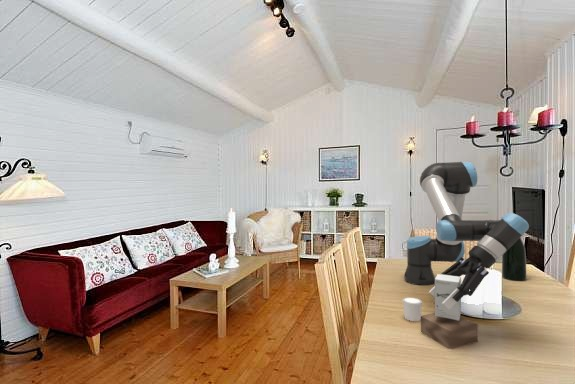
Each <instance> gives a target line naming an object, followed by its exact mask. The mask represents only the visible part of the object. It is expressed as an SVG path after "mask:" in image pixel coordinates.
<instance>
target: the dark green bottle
mask: <svg viewBox="0 0 575 384" xmlns="http://www.w3.org/2000/svg"><path fill="white" fill-rule="evenodd" d="M521 237H522V236H521ZM521 237H520V238H519V239H518V240H517V241H516V242H515V243H514V244H513V245H512V246H511V247H510V248H509V249H508V250H507V251H506V252H505V253H504V254H503V255H502V256H501V275H502V277H503V278H504V279H505V280H509V281H516V282H517V281H518V282H520V281H521V282H522V281H525V280H526V281H527V256H526V255H527V254H526V247H525V244H524V241H523V240H522V238H521Z"/></svg>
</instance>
